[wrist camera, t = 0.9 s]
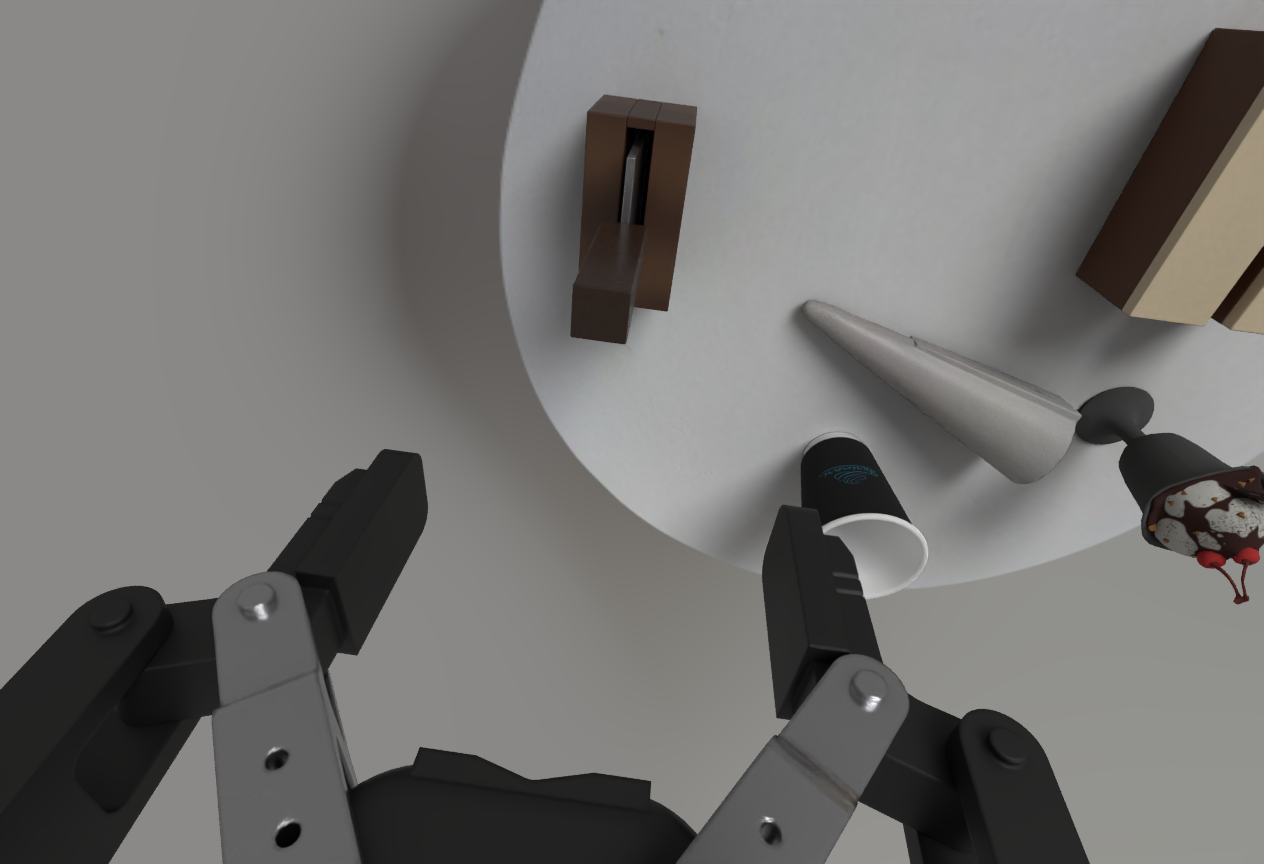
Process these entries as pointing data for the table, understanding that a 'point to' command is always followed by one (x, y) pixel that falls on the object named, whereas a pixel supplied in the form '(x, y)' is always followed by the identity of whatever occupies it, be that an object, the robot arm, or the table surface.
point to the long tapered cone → (961, 395)
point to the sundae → (1180, 485)
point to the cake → (1195, 201)
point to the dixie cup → (862, 513)
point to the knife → (614, 262)
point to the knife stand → (666, 185)
